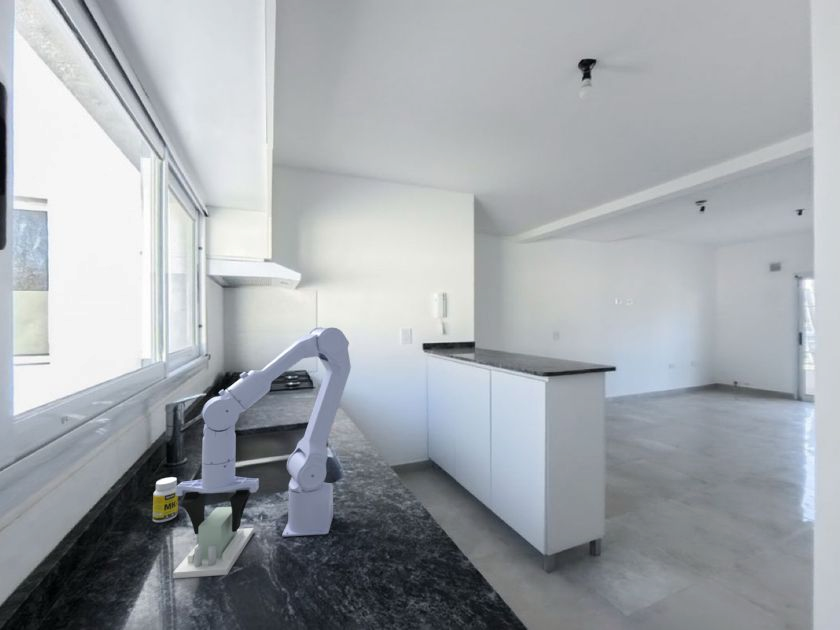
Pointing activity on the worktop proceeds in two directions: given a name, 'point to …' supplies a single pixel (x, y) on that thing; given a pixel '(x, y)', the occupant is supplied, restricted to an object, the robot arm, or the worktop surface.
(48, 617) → the worktop surface
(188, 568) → the tray
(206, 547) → the block
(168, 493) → the supplement bottle
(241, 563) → the worktop surface
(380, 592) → the worktop surface
